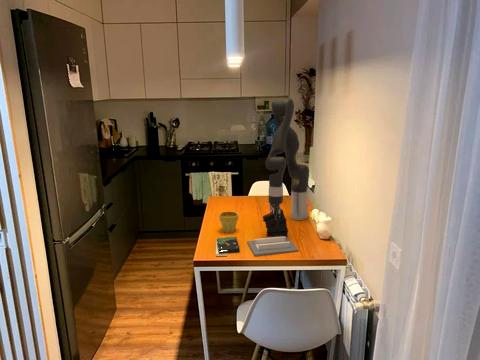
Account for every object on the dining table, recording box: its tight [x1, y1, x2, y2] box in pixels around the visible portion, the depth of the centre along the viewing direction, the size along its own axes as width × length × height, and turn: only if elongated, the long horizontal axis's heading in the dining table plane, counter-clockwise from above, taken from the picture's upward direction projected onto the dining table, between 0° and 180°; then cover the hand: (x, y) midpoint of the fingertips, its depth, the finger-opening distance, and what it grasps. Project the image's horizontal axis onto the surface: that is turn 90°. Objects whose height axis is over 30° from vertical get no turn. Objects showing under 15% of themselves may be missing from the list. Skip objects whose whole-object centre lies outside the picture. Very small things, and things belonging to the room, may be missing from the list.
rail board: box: [246, 236, 299, 257], centre depth 185 cm, size 22×16×4 cm
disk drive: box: [216, 236, 241, 255], centre depth 187 cm, size 10×3×15 cm
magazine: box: [262, 208, 289, 237], centre depth 199 cm, size 4×13×15 cm, turn 84°
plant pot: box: [218, 210, 239, 234], centre depth 207 cm, size 10×10×10 cm
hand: (275, 224), depth 199 cm, fingers closed on magazine, 4 cm apart
